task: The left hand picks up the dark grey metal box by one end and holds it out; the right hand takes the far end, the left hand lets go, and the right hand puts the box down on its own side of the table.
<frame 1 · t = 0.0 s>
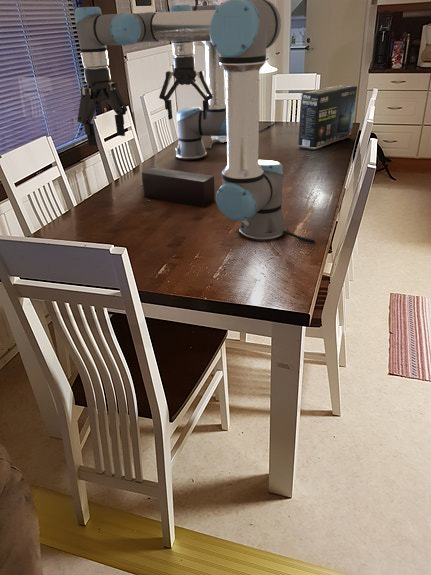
left hand: (187, 118, 173), 28 cm above the table, tool pointing down, fingers open, 13 cm apart
right hand: (107, 140, 148), 28 cm above the table, tool pointing down, fingers open, 13 cm apart
box: (179, 198, 179), on the table
handgun: (254, 168, 210), on the table
router box: (325, 143, 245), on the table
fossil: (227, 141, 256), on the table
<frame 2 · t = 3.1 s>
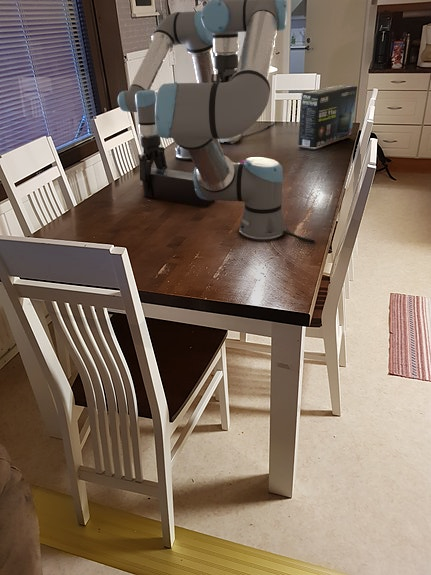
left hand: (156, 193, 184), 1 cm above the table, tool pointing down, fingers closed on box, 7 cm apart
right hand: (227, 127, 147), 30 cm above the table, tool pointing down, fingers open, 13 cm apart
box: (179, 198, 179), on the table, touching left hand
everything else where it was.
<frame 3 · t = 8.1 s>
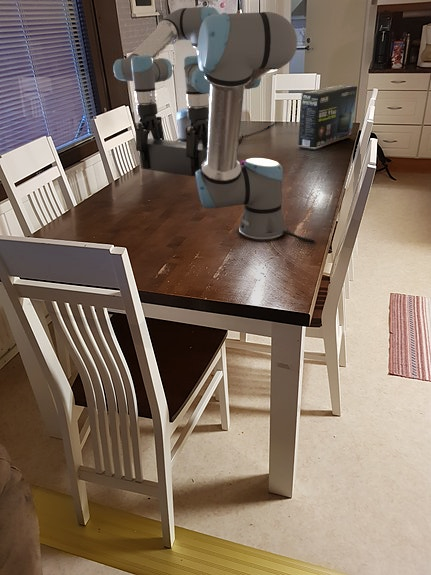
left hand: (153, 165, 178), 12 cm above the table, tool pointing down, fingers closed on box, 7 cm apart
right hand: (201, 172, 168), 12 cm above the table, tool pointing down, fingers closed on box, 7 cm apart
box: (176, 170, 174), point 11 cm above the table, touching right hand, left hand
everything else where it was.
when the left hand's fingers open (12 cm above the table, at t = 8.9 s): box stays where it is, held by the right hand.
when the right hand's fingers open (2 cm above the table, at t = 13.8 s): box stays where it is, on the table.
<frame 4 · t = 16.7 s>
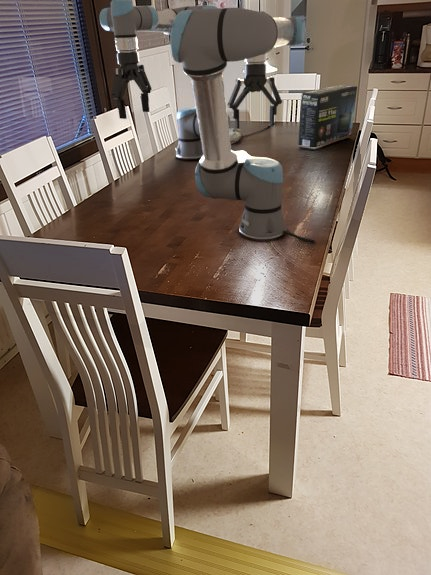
left hand: (135, 115, 171), 30 cm above the table, tool pointing down, fingers open, 13 cm apart
right hand: (254, 126, 171), 25 cm above the table, tool pointing down, fingers open, 13 cm apart
box: (245, 183, 193), on the table
everything else where it was.
at the end: box inside the target area (11.0 cm from its centre), on the table; the left hand is holding nothing; the right hand is holding nothing; box at rest at the end (0.0 cm/s) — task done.
